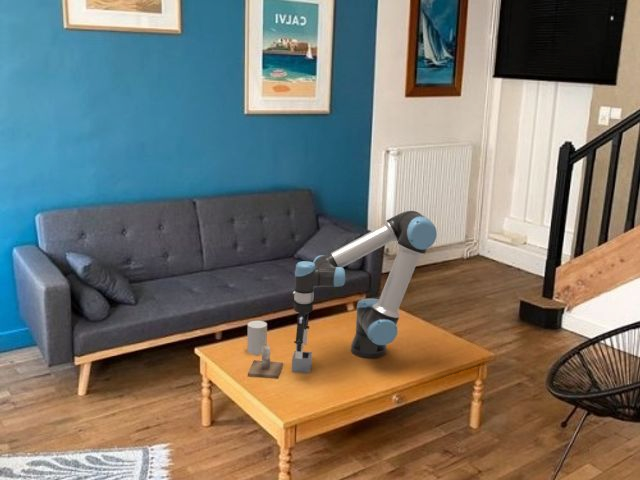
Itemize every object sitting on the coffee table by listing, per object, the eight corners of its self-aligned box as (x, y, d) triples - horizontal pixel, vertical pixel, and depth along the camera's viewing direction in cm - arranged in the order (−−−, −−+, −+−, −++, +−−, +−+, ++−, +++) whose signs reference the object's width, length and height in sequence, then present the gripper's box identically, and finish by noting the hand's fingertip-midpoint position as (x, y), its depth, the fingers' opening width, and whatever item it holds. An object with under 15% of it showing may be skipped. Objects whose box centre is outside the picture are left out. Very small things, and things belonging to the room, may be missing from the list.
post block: (282, 365, 275) (283, 341, 273) (278, 378, 264) (278, 354, 261) (253, 362, 277) (253, 339, 274) (247, 376, 265) (247, 352, 262)
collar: (311, 365, 276) (311, 352, 274) (309, 373, 269) (309, 359, 268) (294, 364, 276) (294, 350, 275) (291, 372, 270) (292, 358, 268)
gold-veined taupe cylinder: (263, 355, 284) (263, 329, 280) (244, 353, 285) (245, 326, 282) (268, 347, 291) (269, 321, 288) (250, 345, 293) (250, 319, 290)
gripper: (298, 289, 278) (296, 337, 283) (289, 311, 254) (287, 363, 259) (316, 291, 277) (314, 339, 282) (309, 313, 253) (306, 365, 258)
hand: (301, 351), depth 271 cm, fingers open, 13 cm apart
